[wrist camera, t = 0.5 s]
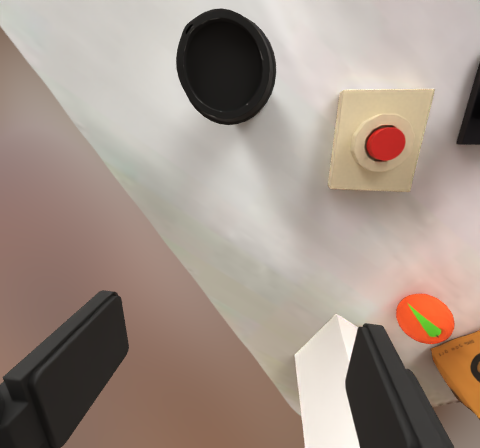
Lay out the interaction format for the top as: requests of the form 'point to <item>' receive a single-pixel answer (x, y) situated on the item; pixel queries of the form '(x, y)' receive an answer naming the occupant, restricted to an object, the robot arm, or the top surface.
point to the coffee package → (461, 368)
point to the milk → (327, 386)
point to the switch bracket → (472, 116)
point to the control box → (368, 121)
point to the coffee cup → (225, 66)
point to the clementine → (425, 318)
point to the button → (386, 143)
